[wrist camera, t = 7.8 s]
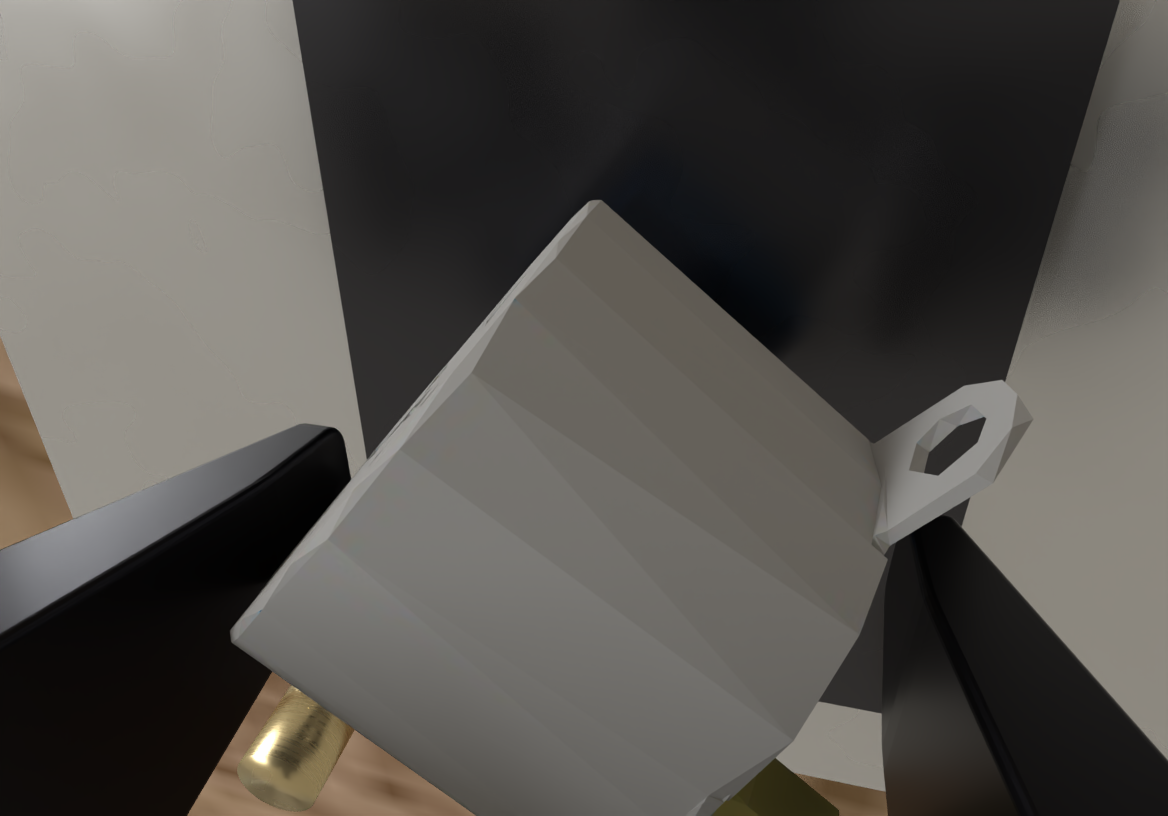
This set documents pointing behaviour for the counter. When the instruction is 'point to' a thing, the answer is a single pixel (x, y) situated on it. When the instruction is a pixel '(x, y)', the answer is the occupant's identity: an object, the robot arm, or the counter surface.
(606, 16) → the chassis plate
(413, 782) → the counter surface
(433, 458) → the electric motor
